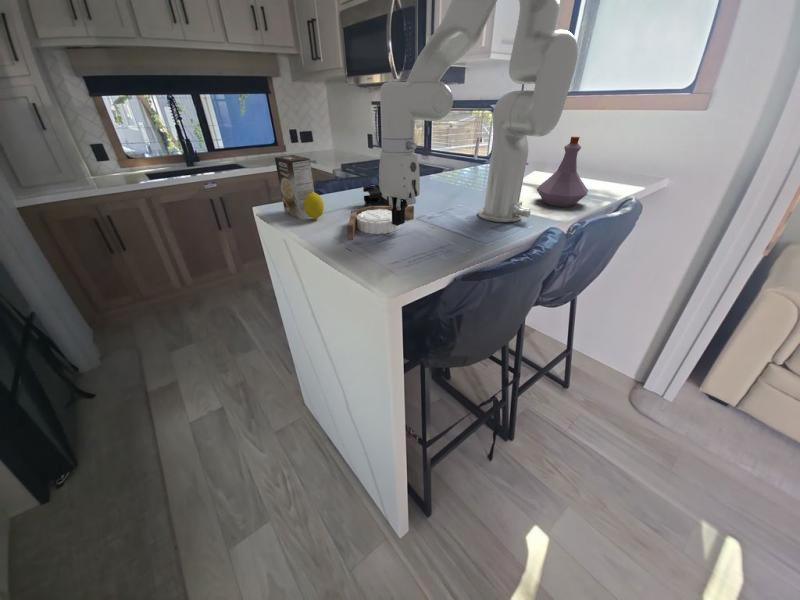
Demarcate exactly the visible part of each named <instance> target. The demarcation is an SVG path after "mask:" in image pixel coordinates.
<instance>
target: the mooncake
mask: <svg viewBox="0 0 800 600" xmlns="http://www.w3.org/2000/svg"><path fill="white" fill-rule="evenodd" d="M356 222H357V228H356V230H358V231H359V232H363V233H364V234H371V235H374V234H375V235H381V234H383V235H385V234H388V233H393V232H397V231H398V230H399V229H400V227H401V225H398V226H396V225H393V224H392V211H389V210H386V209H377V210H367V211H363V212H362V213H361V214H358V216H356Z"/></svg>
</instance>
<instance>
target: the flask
mask: <svg viewBox="0 0 800 600" xmlns="http://www.w3.org/2000/svg"><path fill="white" fill-rule="evenodd" d="M580 138H581V137H580V136H570V142H569V143H568V144H566V145H565V146H564V148H563V149H564V152H565V153H564V155H563V159H562V160H561V162H560V164H559V165H558V169H557V170H556V171H555V172H554V173H553V174H552V175H550V176H549V177H548V178H547V179H546V180H545V181H543V182H542V183H541V184H539V186H538V187H536V192H537V193H538V194H539V196H540V198H541V199H542V201H543V202H544V203H545V204H547V205H549V206H551V207H552V206H553V207H561V208H563V207H564V208H566V207H567V208H568V207H573V206H574V205H576V204H577V203H578V202H580V201H581V200H582V199H584V198H586V196H587V195H588V192H589V189H588V188H587V187H586V184H584V182H583V180H582V178H581V177H580V175H579V173H578V171H577V168H578V167H577V158H578V153H579V152H580V150H581V149H582V146H581V145H580V144H579V141H580Z"/></svg>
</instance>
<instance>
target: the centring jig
mask: <svg viewBox="0 0 800 600" xmlns="http://www.w3.org/2000/svg"><path fill="white" fill-rule="evenodd" d="M377 209H386V210H389V211H392V209H391V208H390V206H368V207H366V206H365V207H361V208H357V209H354V210H351V211H350V212H351V215H350V217H349V220H348V223H347V236H348V237H347V238H348V240H354V238H355V235H356V231H357V222H356V216H358V214H361V213H362V212H363V211H367V210H377ZM414 213H415V206H414V205H408V206H407V208H406V209H405V220H414V217H415V216H414V215H415V214H414Z"/></svg>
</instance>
